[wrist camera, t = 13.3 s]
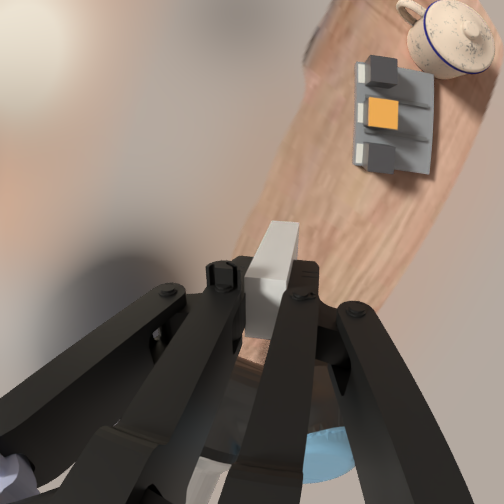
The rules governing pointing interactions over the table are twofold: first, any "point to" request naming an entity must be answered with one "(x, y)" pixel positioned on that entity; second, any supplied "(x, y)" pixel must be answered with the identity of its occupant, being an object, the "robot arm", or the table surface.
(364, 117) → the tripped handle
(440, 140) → the table surface
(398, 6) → the teacup with lid
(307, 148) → the table surface
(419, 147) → the panel
